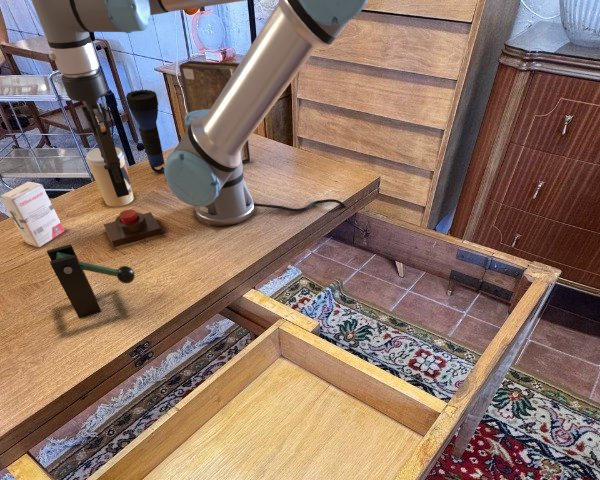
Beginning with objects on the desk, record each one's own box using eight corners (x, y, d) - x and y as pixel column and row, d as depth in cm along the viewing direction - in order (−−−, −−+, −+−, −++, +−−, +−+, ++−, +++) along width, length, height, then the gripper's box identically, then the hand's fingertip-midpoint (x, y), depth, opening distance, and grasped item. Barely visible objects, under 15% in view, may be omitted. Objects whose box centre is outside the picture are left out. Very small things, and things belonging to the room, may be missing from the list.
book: (194, 161, 136) (175, 63, 117) (206, 153, 140) (190, 56, 121) (240, 171, 131) (228, 69, 112) (252, 161, 135) (242, 62, 116)
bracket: (114, 292, 95) (89, 233, 84) (124, 316, 90) (99, 256, 79) (56, 310, 91) (23, 250, 81) (64, 336, 86) (29, 276, 76)
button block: (153, 220, 114) (148, 204, 111) (163, 236, 109) (158, 220, 106) (106, 232, 111) (100, 217, 108) (114, 249, 106) (108, 234, 103)
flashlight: (179, 172, 132) (161, 93, 116) (156, 180, 128) (135, 101, 113) (164, 164, 136) (145, 87, 120) (142, 172, 132) (119, 94, 117)
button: (136, 214, 109) (133, 208, 107) (140, 222, 107) (138, 215, 105) (119, 219, 108) (117, 212, 106) (123, 226, 105) (121, 219, 104)
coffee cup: (137, 205, 119) (123, 158, 110) (102, 210, 118) (84, 163, 109) (136, 189, 125) (121, 143, 116) (102, 194, 124) (85, 148, 114)
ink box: (51, 226, 113) (28, 179, 104) (65, 231, 112) (43, 183, 102) (24, 243, 108) (-3, 195, 99) (38, 248, 107) (12, 200, 98)
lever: (129, 279, 91) (134, 264, 90) (134, 288, 90) (138, 273, 88) (53, 264, 82) (57, 247, 81) (56, 273, 80) (60, 256, 79)
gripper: (54, 67, 87) (100, 187, 105) (65, 84, 79) (113, 211, 97) (93, 60, 89) (131, 180, 107) (107, 76, 81) (146, 202, 100)
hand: (122, 194), depth 102 cm, fingers closed
